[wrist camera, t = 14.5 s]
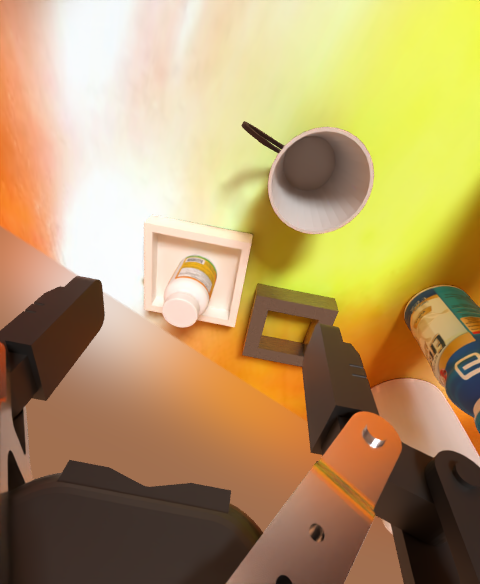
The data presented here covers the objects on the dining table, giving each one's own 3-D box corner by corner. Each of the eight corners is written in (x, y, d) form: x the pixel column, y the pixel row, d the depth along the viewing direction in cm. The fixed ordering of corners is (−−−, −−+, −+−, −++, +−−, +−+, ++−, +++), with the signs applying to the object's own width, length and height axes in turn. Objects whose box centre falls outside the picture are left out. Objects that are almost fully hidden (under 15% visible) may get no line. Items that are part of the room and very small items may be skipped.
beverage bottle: (472, 322, 43) (598, 466, 26) (407, 339, 46) (485, 480, 29) (465, 273, 39) (608, 404, 22) (395, 294, 42) (477, 426, 25)
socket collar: (334, 298, 43) (338, 311, 41) (311, 355, 49) (313, 369, 46) (257, 283, 43) (256, 295, 40) (244, 341, 49) (242, 355, 46)
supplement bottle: (196, 294, 44) (178, 339, 36) (170, 266, 42) (145, 308, 34) (225, 275, 42) (213, 320, 34) (200, 245, 40) (180, 285, 32)
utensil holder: (359, 435, 59) (388, 549, 44) (347, 382, 52) (376, 496, 37) (445, 426, 55) (508, 546, 40) (445, 367, 48) (521, 488, 33)
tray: (253, 234, 39) (251, 243, 37) (236, 314, 46) (234, 327, 44) (152, 214, 39) (144, 222, 37) (151, 298, 46) (144, 309, 44)
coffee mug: (360, 178, 34) (388, 203, 26) (291, 215, 38) (295, 249, 29) (317, 69, 30) (333, 58, 21) (241, 122, 33) (229, 131, 24)
